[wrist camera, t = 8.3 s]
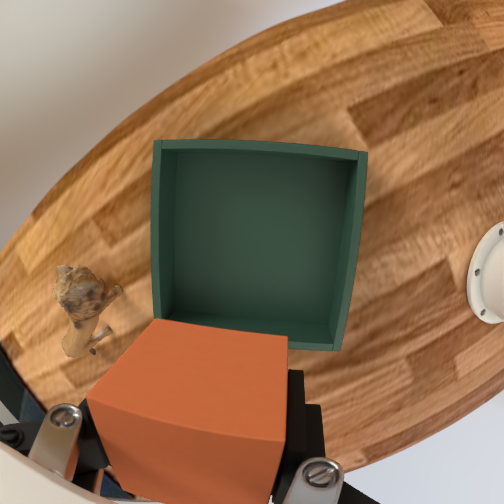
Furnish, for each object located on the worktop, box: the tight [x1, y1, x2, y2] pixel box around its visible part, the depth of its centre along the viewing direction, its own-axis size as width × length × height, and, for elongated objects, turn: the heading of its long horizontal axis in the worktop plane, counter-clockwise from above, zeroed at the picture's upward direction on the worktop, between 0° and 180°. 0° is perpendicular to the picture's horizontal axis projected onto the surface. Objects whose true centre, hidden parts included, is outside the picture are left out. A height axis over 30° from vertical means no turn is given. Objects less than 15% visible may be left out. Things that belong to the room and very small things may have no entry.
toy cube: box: [86, 318, 288, 504], centre depth 9 cm, size 5×5×5 cm
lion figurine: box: [53, 265, 123, 358], centre depth 28 cm, size 15×5×9 cm, turn 161°
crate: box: [151, 139, 368, 351], centre depth 27 cm, size 18×18×4 cm
